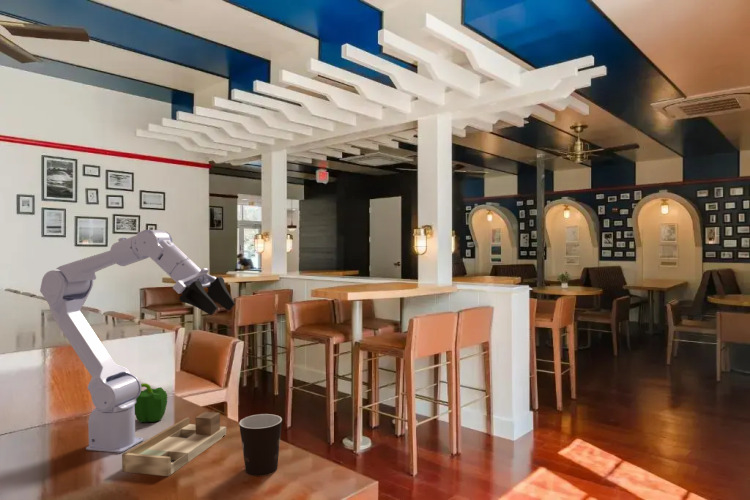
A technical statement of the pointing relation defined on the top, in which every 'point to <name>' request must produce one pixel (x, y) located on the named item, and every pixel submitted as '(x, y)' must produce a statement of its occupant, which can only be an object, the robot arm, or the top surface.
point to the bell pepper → (150, 404)
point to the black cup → (261, 443)
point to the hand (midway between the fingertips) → (223, 309)
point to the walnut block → (207, 423)
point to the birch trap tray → (168, 449)
